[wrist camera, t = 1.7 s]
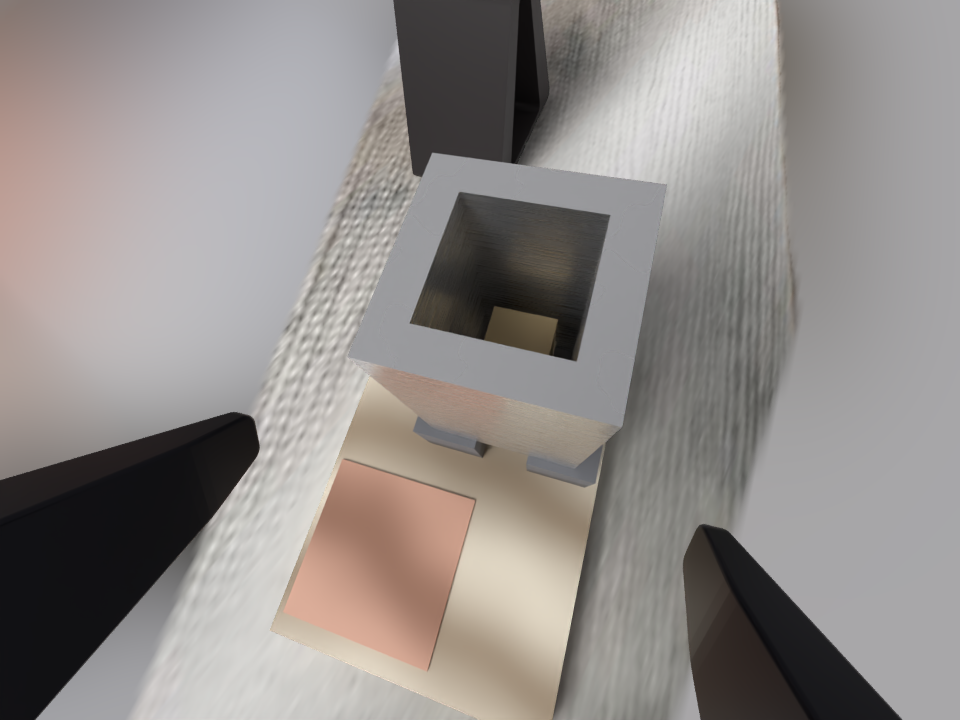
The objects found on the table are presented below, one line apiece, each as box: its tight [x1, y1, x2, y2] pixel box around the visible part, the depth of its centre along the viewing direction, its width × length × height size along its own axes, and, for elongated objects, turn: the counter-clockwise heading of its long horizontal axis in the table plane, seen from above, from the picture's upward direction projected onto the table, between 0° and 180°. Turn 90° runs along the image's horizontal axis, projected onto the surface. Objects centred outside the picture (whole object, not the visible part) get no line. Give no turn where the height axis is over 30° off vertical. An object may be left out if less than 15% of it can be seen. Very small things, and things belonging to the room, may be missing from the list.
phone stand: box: [394, 0, 549, 177], centre depth 21 cm, size 9×6×12 cm, turn 158°
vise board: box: [270, 306, 606, 720], centre depth 15 cm, size 16×12×8 cm
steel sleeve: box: [347, 153, 667, 469], centre depth 12 cm, size 5×5×8 cm
